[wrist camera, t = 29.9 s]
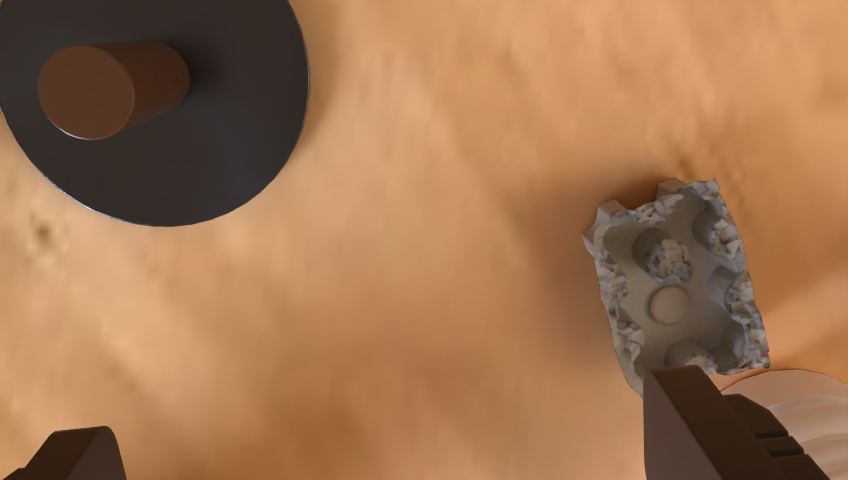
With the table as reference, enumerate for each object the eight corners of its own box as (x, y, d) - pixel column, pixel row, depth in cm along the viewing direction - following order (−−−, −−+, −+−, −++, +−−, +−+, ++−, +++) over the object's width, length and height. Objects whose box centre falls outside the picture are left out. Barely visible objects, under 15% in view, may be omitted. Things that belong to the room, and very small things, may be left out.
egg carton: (742, 343, 44) (778, 376, 40) (612, 382, 44) (636, 417, 40) (707, 163, 41) (743, 178, 37) (569, 204, 41) (590, 224, 37)
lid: (274, -112, 36) (238, -163, 26) (338, 193, 40) (326, 248, 30) (-41, -57, 36) (-194, -87, 26) (55, 245, 40) (-48, 316, 30)
